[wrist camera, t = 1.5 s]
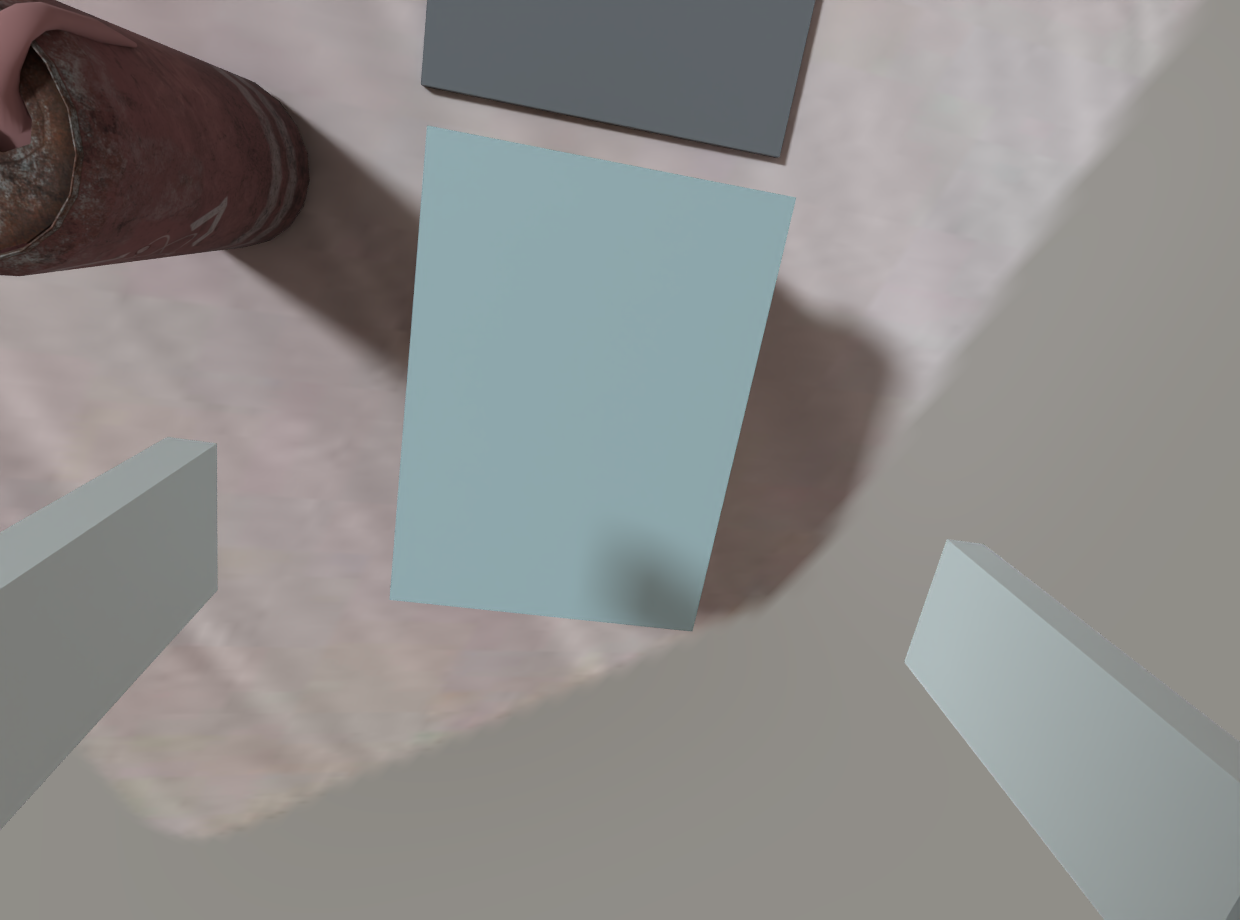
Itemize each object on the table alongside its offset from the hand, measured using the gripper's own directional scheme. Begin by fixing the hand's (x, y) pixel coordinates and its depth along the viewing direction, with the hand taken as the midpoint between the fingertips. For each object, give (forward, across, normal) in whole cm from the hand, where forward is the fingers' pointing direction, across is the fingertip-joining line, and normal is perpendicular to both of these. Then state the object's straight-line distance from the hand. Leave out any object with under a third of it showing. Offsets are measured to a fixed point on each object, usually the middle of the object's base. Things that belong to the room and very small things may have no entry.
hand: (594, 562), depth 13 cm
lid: (+12, 0, 0) cm, 12 cm away
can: (+19, -14, +6) cm, 24 cm away
